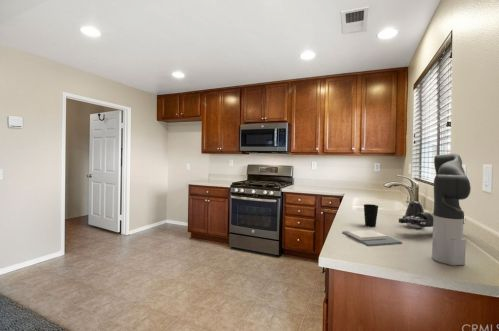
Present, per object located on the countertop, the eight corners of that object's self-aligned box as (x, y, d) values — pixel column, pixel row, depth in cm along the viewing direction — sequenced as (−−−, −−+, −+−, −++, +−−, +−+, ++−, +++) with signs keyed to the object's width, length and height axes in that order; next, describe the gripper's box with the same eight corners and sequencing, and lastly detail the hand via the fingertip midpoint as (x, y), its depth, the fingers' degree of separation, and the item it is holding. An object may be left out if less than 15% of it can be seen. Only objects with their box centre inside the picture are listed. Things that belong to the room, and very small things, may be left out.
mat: (402, 243, 117) (402, 241, 117) (368, 246, 113) (368, 244, 113) (372, 231, 136) (372, 229, 136) (342, 232, 132) (342, 231, 132)
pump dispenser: (400, 225, 149) (400, 200, 148) (411, 224, 153) (412, 199, 153) (417, 230, 139) (418, 203, 139) (429, 228, 144) (430, 201, 143)
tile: (386, 235, 121) (361, 237, 117) (386, 238, 121) (361, 240, 118) (372, 229, 130) (348, 231, 127) (372, 232, 130) (348, 234, 127)
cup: (362, 226, 146) (363, 205, 146) (363, 223, 153) (364, 203, 152) (377, 228, 142) (378, 207, 142) (377, 225, 149) (378, 205, 149)
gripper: (416, 210, 138) (390, 210, 134) (440, 215, 125) (411, 216, 121) (416, 223, 138) (389, 224, 134) (439, 230, 125) (410, 231, 122)
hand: (399, 220), depth 128 cm, fingers closed
